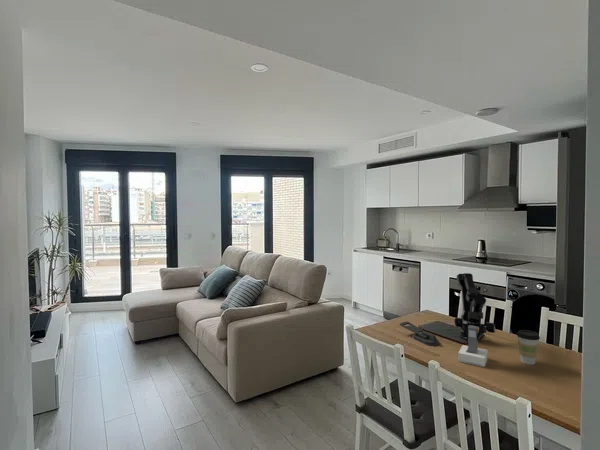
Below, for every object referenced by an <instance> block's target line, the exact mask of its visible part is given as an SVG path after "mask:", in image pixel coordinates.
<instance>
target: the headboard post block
mask: <svg viewBox="0 0 600 450" xmlns="http://www.w3.org/2000/svg"><path fill="white" fill-rule="evenodd" d="M457 354H458V355H457V357H458V359H457V361H458V362H459V363H464V364H466V365H467V364H469V365H472V366H477V367H483V368H485V367H486V364H487V361H488V358H489V357H488V356H489V354H488V349H484V348H479V347H478V352H477V354H475V353H470V352H468V345H464V344H462V345H461V347H460V349H459V351H458V352H457Z"/></svg>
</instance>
